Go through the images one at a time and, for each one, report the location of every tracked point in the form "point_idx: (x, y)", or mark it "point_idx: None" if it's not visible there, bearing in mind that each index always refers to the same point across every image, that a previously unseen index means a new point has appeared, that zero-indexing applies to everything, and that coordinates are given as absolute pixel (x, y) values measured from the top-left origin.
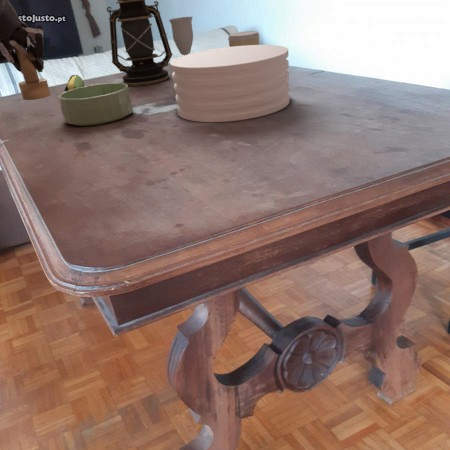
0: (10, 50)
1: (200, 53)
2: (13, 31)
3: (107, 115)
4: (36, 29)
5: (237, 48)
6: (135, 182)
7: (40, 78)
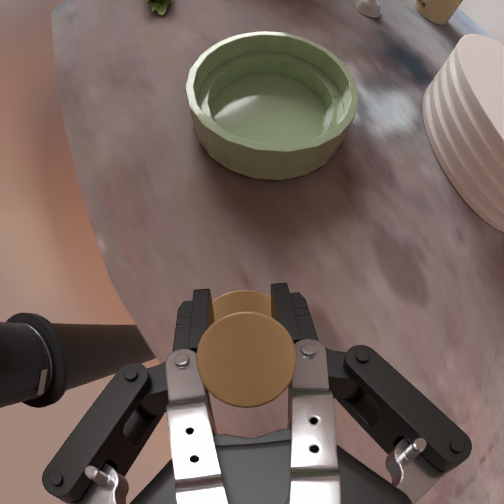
0: (215, 431)
1: (480, 53)
2: None
3: (320, 162)
4: (443, 474)
5: None
6: (444, 492)
7: (256, 294)
